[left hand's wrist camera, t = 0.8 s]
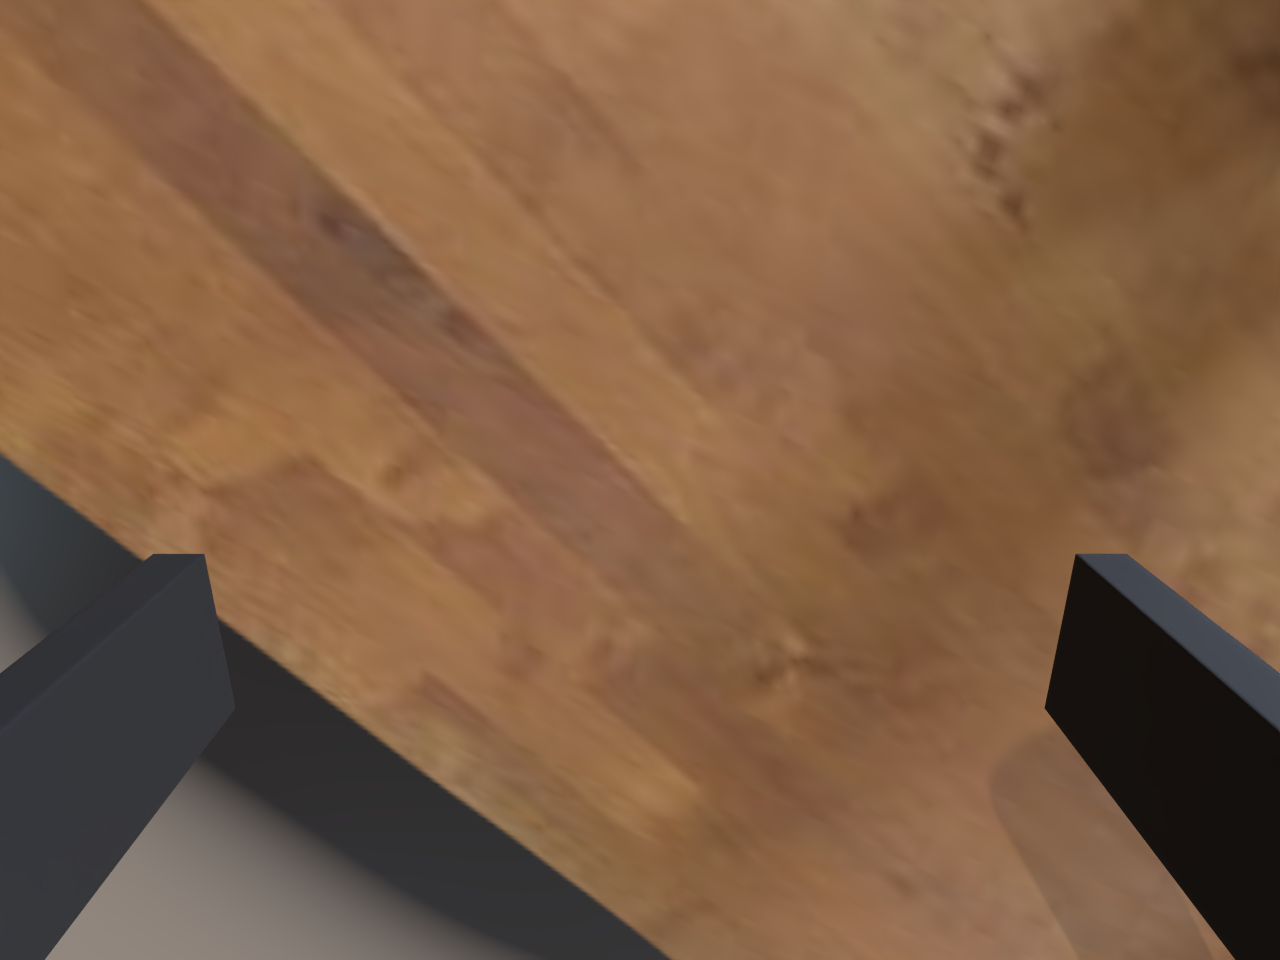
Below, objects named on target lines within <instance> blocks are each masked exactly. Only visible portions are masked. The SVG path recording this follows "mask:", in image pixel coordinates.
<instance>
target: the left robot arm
mask: <svg viewBox="0 0 1280 960" xmlns="http://www.w3.org/2000/svg"><path fill="white" fill-rule="evenodd" d="M234 709H235V704H234V699H233V694H232V689H231V684H230V679H229V674H228V669H227V664H226V659H225V654H224V649H223V645H222V639H221V635H220V630H219V625H218V620H217V615H216V610H215V605H214V600H213V595H212V590H211V585H210V580H209V575H208V570H207V565H206V560H205V555H204V554H153V555H151V556H150V557H149V558H148V559H146V560H145V561H144V562H142V563H141V564H140V565H139V566H137V567H136V568H135V569H133V570H132V571H131V572H130V573H128V574H127V575H126V576H125V577H123V578H122V579H121V580H119V581H118V582H117V583H116V584H114V585H113V586H112V587H110V588H109V589H108V590H107V591H105V592H104V593H103V594H101V595H100V596H99V597H98V598H96V599H95V600H94V601H92V602H91V603H90V604H89V605H87V606H86V607H85V608H83V609H82V610H81V611H80V612H78V613H77V614H76V615H75V616H73V617H72V618H71V619H69V620H68V621H67V622H66V623H64V624H63V625H62V626H60V627H59V628H58V629H57V630H55V631H54V632H53V633H52V634H50V635H49V636H48V637H46V638H45V639H44V640H42V641H41V642H40V643H39V644H37V645H36V646H35V647H33V648H32V649H31V650H30V651H28V652H27V653H26V654H25V655H23V656H22V657H21V658H19V659H18V660H17V661H16V662H14V663H13V664H12V665H10V666H9V667H8V668H7V669H5V670H4V671H3V672H1V673H0V960H45V959H46V957H47V956H48V954H49V953H50V952H51V951H52V949H53V948H54V947H55V945H56V944H57V943H58V941H59V940H60V939H61V937H62V936H63V935H64V933H65V932H66V931H67V929H68V928H69V927H70V925H71V924H72V923H73V922H74V920H75V919H76V918H77V916H78V915H79V914H80V912H81V911H82V910H83V908H84V907H85V906H86V904H87V903H88V902H89V900H90V899H91V898H92V897H93V895H94V894H95V892H96V891H97V890H98V889H99V887H100V886H101V885H102V883H103V882H104V881H105V879H106V878H107V877H108V875H109V874H110V873H111V871H112V870H113V869H114V868H115V866H116V865H117V864H118V862H119V861H120V860H121V858H122V857H123V856H124V854H125V853H126V852H127V850H128V849H129V848H130V846H131V845H132V844H133V842H134V841H135V840H136V839H137V837H138V836H139V835H140V833H141V832H142V831H143V829H144V828H145V827H146V825H147V824H148V823H149V821H150V820H151V819H152V817H153V816H154V815H155V813H156V812H157V811H158V809H159V808H160V807H161V806H162V804H163V803H164V802H165V800H166V799H167V798H168V796H169V795H170V794H171V792H172V791H173V790H174V788H175V787H176V786H177V784H178V783H179V782H180V780H181V779H182V778H183V777H184V775H185V774H186V773H187V771H188V770H189V769H190V767H191V766H192V765H193V763H194V762H195V761H196V759H197V758H198V757H199V755H200V754H201V753H202V751H203V750H204V749H205V748H206V746H207V745H208V743H209V742H210V741H211V740H212V738H213V737H214V736H215V734H216V733H217V732H218V730H219V729H220V728H221V726H222V725H223V724H224V722H225V721H226V720H227V718H228V717H229V716H230V715H231V713H232V712H233V711H234ZM1045 709H1046V711H1047V712H1048V713H1049V715H1050V716H1051V717H1052V718H1053V720H1054V721H1055V722H1056V724H1057V725H1058V726H1059V728H1060V729H1061V730H1062V732H1063V733H1064V734H1065V736H1066V737H1067V738H1068V740H1069V741H1070V742H1071V744H1072V745H1073V746H1074V748H1075V749H1076V750H1077V751H1078V753H1079V754H1080V755H1081V757H1082V758H1083V759H1084V761H1085V762H1086V763H1087V765H1088V766H1089V767H1090V769H1091V770H1092V771H1093V773H1094V774H1095V775H1096V777H1097V778H1098V779H1099V780H1100V782H1101V783H1102V784H1103V786H1104V787H1105V788H1106V790H1107V791H1108V792H1109V794H1110V795H1111V796H1112V798H1113V799H1114V800H1115V802H1116V803H1117V804H1118V806H1119V807H1120V808H1121V810H1122V811H1123V812H1124V813H1125V815H1126V816H1127V817H1128V819H1129V820H1130V821H1131V823H1132V824H1133V825H1134V827H1135V828H1136V829H1137V831H1138V832H1139V833H1140V835H1141V836H1142V837H1143V839H1144V840H1145V841H1146V842H1147V844H1148V845H1149V846H1150V848H1151V849H1152V850H1153V852H1154V853H1155V854H1156V856H1157V857H1158V858H1159V860H1160V861H1161V862H1162V864H1163V865H1164V866H1165V868H1166V869H1167V870H1168V871H1169V873H1170V874H1171V875H1172V877H1173V878H1174V879H1175V881H1176V882H1177V883H1178V885H1179V886H1180V887H1181V889H1182V890H1183V891H1184V893H1185V894H1186V895H1187V897H1188V898H1189V899H1190V901H1191V902H1192V903H1193V904H1194V906H1195V907H1196V908H1197V910H1198V911H1199V912H1200V914H1201V915H1202V916H1203V918H1204V919H1205V920H1206V922H1207V923H1208V924H1209V926H1210V927H1211V928H1212V930H1213V931H1214V932H1215V933H1216V935H1217V936H1218V937H1219V939H1220V940H1221V941H1222V943H1223V944H1224V945H1225V947H1226V948H1227V949H1228V951H1229V952H1230V953H1231V955H1232V956H1233V957H1234V959H1235V960H1280V673H1279V672H1277V671H1276V670H1275V669H1273V668H1272V667H1271V666H1270V665H1268V664H1267V663H1266V662H1264V661H1263V660H1262V659H1261V658H1259V657H1258V656H1257V655H1255V654H1254V653H1253V652H1252V651H1250V650H1249V649H1248V648H1247V647H1245V646H1244V645H1243V644H1241V643H1240V642H1239V641H1238V640H1236V639H1235V638H1234V637H1232V636H1231V635H1230V634H1229V633H1227V632H1226V631H1225V630H1223V629H1222V628H1221V627H1220V626H1218V625H1217V624H1216V623H1214V622H1213V621H1212V620H1211V619H1209V618H1208V617H1207V616H1205V615H1204V614H1203V613H1202V612H1200V611H1199V610H1198V609H1197V608H1195V607H1194V606H1193V605H1191V604H1190V603H1189V602H1188V601H1186V600H1185V599H1184V598H1182V597H1181V596H1180V595H1179V594H1177V593H1176V592H1175V591H1173V590H1172V589H1171V588H1170V587H1168V586H1167V585H1166V584H1164V583H1163V582H1162V581H1161V580H1159V579H1158V578H1157V577H1155V576H1154V575H1153V574H1152V573H1150V572H1149V571H1148V570H1147V569H1145V568H1144V567H1143V566H1141V565H1140V564H1139V563H1138V562H1136V561H1135V560H1134V559H1132V558H1131V557H1130V556H1129V555H1127V554H1076V555H1075V560H1074V565H1073V570H1072V575H1071V580H1070V585H1069V590H1068V595H1067V600H1066V605H1065V610H1064V615H1063V620H1062V625H1061V630H1060V635H1059V640H1058V644H1057V649H1056V654H1055V659H1054V664H1053V669H1052V674H1051V679H1050V684H1049V689H1048V694H1047V699H1046V704H1045Z"/></svg>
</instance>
